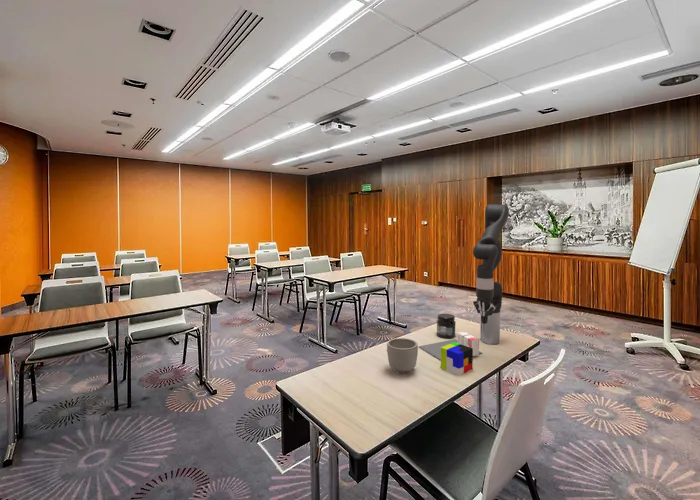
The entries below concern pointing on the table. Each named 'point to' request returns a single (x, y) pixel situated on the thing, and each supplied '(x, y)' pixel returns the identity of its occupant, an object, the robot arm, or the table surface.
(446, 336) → the supplement container
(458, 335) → the ink box
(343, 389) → the table surface
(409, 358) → the planter
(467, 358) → the puzzle toy
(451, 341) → the mat
